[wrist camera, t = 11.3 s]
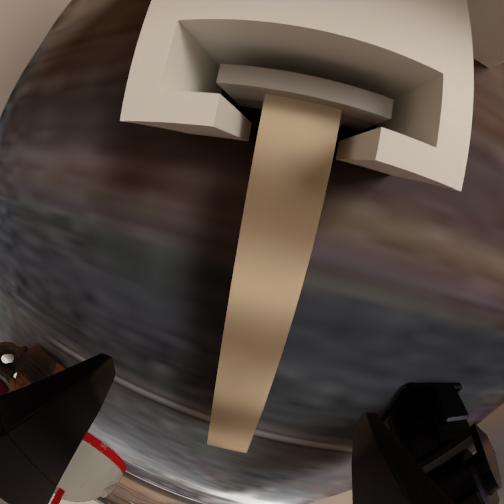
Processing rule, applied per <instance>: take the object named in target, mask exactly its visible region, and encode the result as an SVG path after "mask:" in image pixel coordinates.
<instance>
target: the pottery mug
mask: <svg viewBox="0 0 504 504" xmlns="http://www.w3.org/2000/svg"><path fill="white" fill-rule="evenodd" d="M4 354H13V355H14V360H13V362H12V363H7V364H5V363H3V362H2V361H1V357H2V355H4ZM65 369H66V368H64V367H63V366H62V365H60V364H59V363H58V362H56V361H55V360H54V359H53V358H52V357H51V356H50V355H49V354H48V353H47V352H46V351H45V350H44V349H42V348H41V347H40V346H39V345H38V344H36V345H35V346H33V347H32V348H31V349H29V350H28V348H27V346H25V347H18V346H16V345H15V344H13V343H11V342H0V375H2V376H3V377H4V378H5V379H6V380H7V381H8V383H9V386H10V389H9V391H8V392H11V391H14V390H16V389H19V388H21V387H24V386H27V385H29V384H31V383H34V382H36V381H39V380H41V379H43V378H46V377H48V376H50V375H53V374H55V373H58V372H60V371H62V370H65ZM16 372H17V376H16V379H15V378H14V377H13V375H14V373H16ZM8 392H7V393H8Z"/></svg>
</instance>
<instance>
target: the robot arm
mask: <svg viewBox="0 0 504 504" xmlns="http://www.w3.org/2000/svg"><path fill="white" fill-rule="evenodd" d="M114 377H115V368H114V363H113V359H112V357H111V356H108V355H106V354H103V353H102V354H99V355H96V356H94V357H92V358H90V359H87V360H85V361H83V362H81V363H78V364H76V365H74V366H71V367H69V368H67V369H65V370H62V371H60V372H58V373H55V374H53V375H50V376H48V377H46V378H43V379H41V380H39V381H36V382H34V383H31V384H29V385H27V386H24V387H21V388H19V389H16V390H14V391H11V392H8V393H5V394H2V395H0V504H48V503H49V501H50V499H51V497H52V495H53V493H54V491H55V489H56V486H57V485H58V483H59V481H60V480H61V478H62V476H63V474H64V472H65V470H66V468H67V467H68V465H69V463H70V461H71V459H72V457H73V456H74V454H75V452H76V450H77V448H78V447H79V445H80V443H81V441H82V440H83V438H84V436H85V434H86V433H87V431H88V429H89V428H90V426H91V424H92V422H93V421H94V419H95V417H96V416H97V414H98V412H99V410H100V409H101V406H102V404H103V402H104V400H105V398H106V395H107V393H108V391H109V389H110V386H111V384H112V382H113V380H114ZM461 389H462V386H461V384H460V383H410V384H408V385H407V386H406V387H405V389H404V390H403V392H402V393H401V394H400V396H399V397H398V399H397V400H396V402H395V403H394V404H393V406H392V407H391V409H390V410H389V411H388V413H387V414H386V415H385V417H384V418H383V419H382V420H381V419H380V418H379V416H378V415H377V414H376V413H371V412H366V413H364V414H363V415H362V416H361V418H360V419H359V421H358V422H357V423H356V425H355V427H354V431H353V450H352V492H353V504H499V502H500V500H499V496H498V493H497V490H499V489H500V488H501V487H502V482H501V477H500V471H499V466H498V461H497V457H496V453H495V450H494V448H493V446H492V444H491V442H490V440H489V438H488V436H487V434H485V433H484V432H483V431H482V430H481V429H480V428H479V427H478V426H477V425H476V424H475V423H474V424H473V425H472V426H469V424H468V421H467V419H468V418H469V415H468V412H467V410H466V408H465V406H464V404H463V402H462V400H461V399H460V397H459V395H458V393H459V392H460V391H461ZM475 451H476V452H477V453H475V454H474V455H473V454H472V453H473V452H475Z"/></svg>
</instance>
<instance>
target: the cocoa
mask: <svg viewBox="0 0 504 504" xmlns="http://www.w3.org/2000/svg"><path fill="white" fill-rule="evenodd" d="M8 391H9V389H8V387H7V386H6V384H5V383H4V382H3V381H2V380H1V379H0V395H2V394H5V393H7V392H8Z"/></svg>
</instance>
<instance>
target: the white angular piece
mask: <svg viewBox="0 0 504 504" xmlns="http://www.w3.org/2000/svg"><path fill="white" fill-rule="evenodd" d="M473 58H474V59H475V60H477V61H479V62H480V63H482V64H483V65H485V66H486V67H488V68H491V67H494V66H497V65H500V64H503V63H504V0H151V3H150V5H149V8H148V11H147V14H146V17H145V20H144V23H143V26H142V29H141V32H140V35H139V39H138V42H137V45H136V49H135V53H134V56H133V60H132V64H131V68H130V72H129V76H128V81H127V85H126V90H125V95H124V100H123V105H122V111H121V116H120V121H123V122H130V123H136V124H142V125H148V126H154V127H159V128H164V129H169V130H174V131H179V132H184V133H189V134H196V135H205V136H213V137H221V138H228V139H235V140H242V141H249V136H250V131H251V125H252V123H251V122H250V121H249V120H248V119H247V118H246V117H245V116H244V115H243V114H241V113H240V112H239V111H238V110H237V109H236V108H235V107H234V106H233V105H232V104H231V103H230V102H229V101H227V100H226V99H225V98H224V97H223V96H222V90H223V89H222V88H221V87H220V86H219V85H218V84H217V83H216V81H217V76H218V72H219V67H220V63H221V64H235V65H245V66H255V67H263V68H270V69H277V70H283V71H289V72H295V73H300V74H305V75H310V76H315V77H319V78H323V79H328V80H332V81H336V82H340V83H343V84H347V85H351V86H354V87H358V88H361V89H364V90H367V91H371V92H374V93H377V94H380V95H383V96H386V97H388V98H391V99H394V102H393V109H392V116H391V119H389V120H387V121H384V122H381V123H379V124H377V128H376V129H373V130H370V131H367V132H364V133H361V134H358V135H355V136H352V137H350V138H347V139H344V140H341V141H339V143H338V149H337V154H336V160H340V161H344V162H347V163H351V164H355V165H358V166H362V167H366V168H369V169H372V170H376V171H379V172H382V173H386V174H389V175H393V176H398V177H403V178H407V179H412V180H417V181H421V182H425V183H430V184H434V185H438V186H442V187H446V188H450V189H454V190H457V191H461V189H462V185H463V180H464V175H465V169H466V163H467V157H468V151H469V143H470V135H471V126H472V114H473V95H474V63H473Z"/></svg>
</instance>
